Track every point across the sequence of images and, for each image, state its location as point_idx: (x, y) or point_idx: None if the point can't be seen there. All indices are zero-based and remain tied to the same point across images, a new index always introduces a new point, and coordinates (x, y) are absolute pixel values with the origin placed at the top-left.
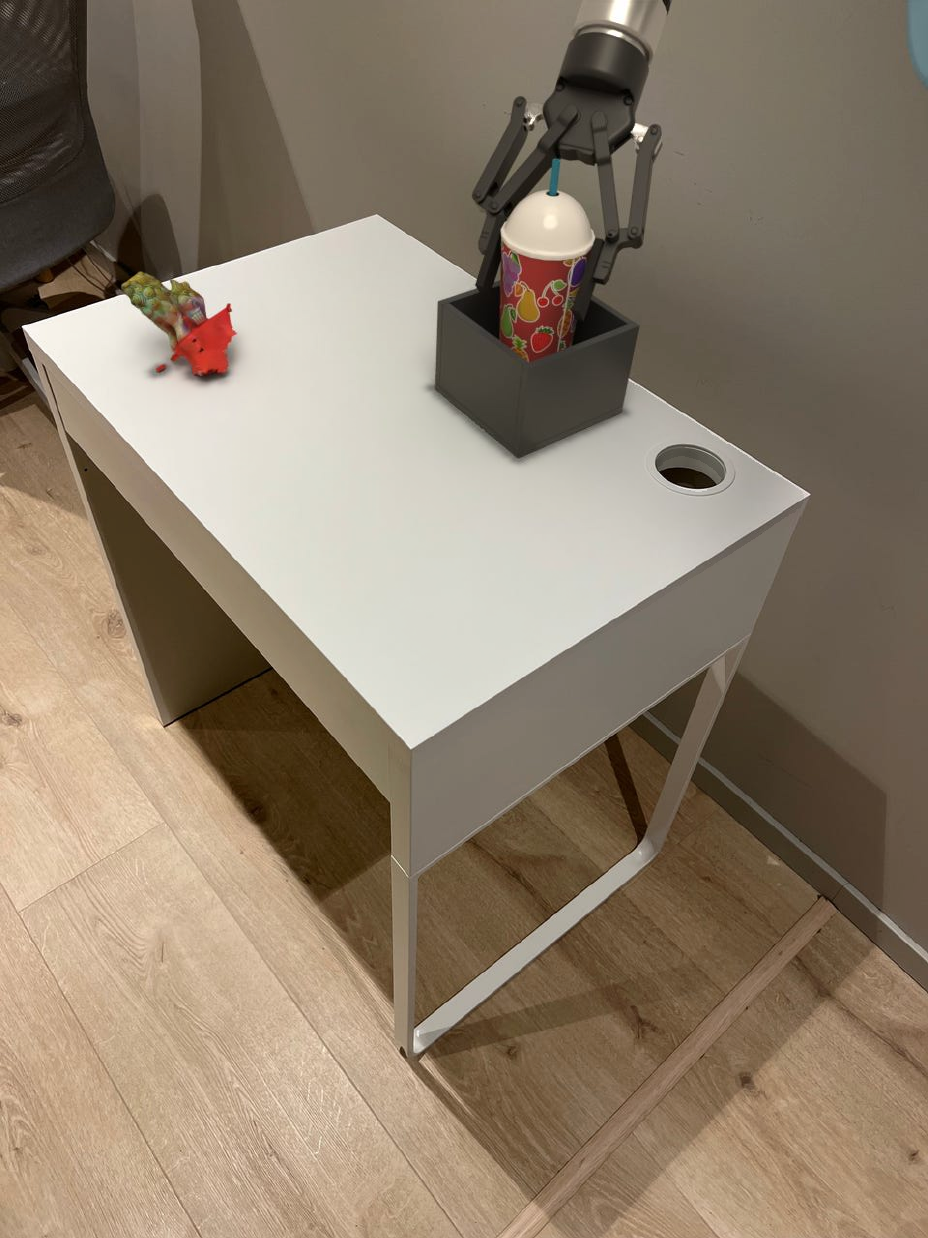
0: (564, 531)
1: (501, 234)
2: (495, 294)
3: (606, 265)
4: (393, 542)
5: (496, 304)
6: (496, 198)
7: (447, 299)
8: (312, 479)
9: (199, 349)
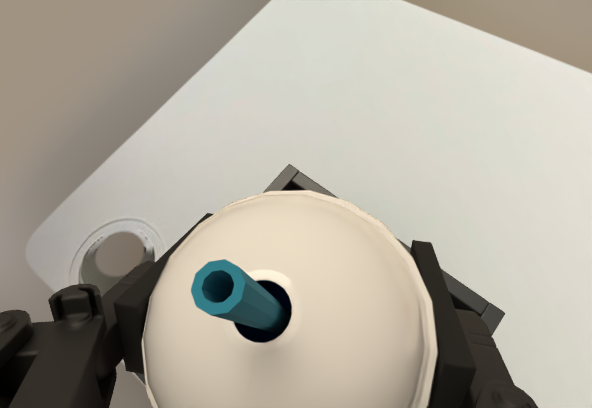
0: (241, 137)
1: (417, 269)
2: None
3: (130, 278)
4: (381, 82)
5: None
6: None
7: (490, 326)
8: (492, 126)
9: None
